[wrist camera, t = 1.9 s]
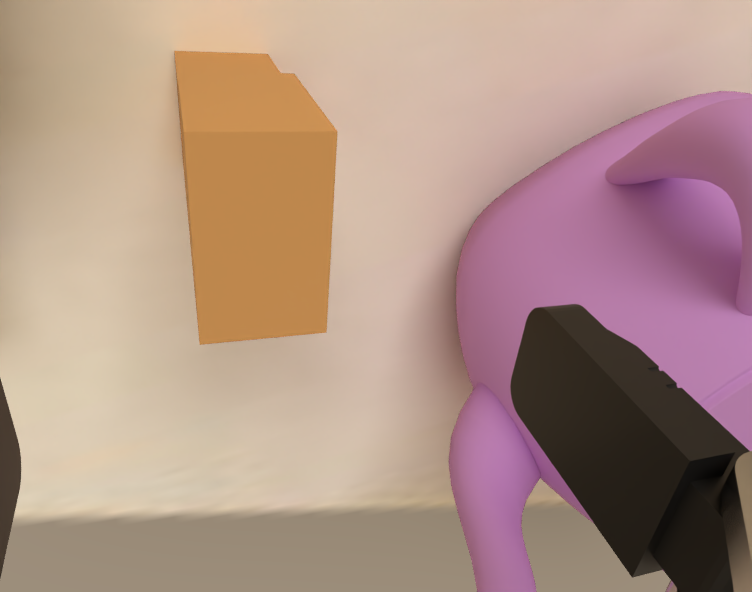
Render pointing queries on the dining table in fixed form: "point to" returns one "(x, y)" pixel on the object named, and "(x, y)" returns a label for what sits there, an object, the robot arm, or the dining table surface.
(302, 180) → the orange block
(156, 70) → the dining table surface
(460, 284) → the teapot
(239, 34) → the dining table surface
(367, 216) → the dining table surface
